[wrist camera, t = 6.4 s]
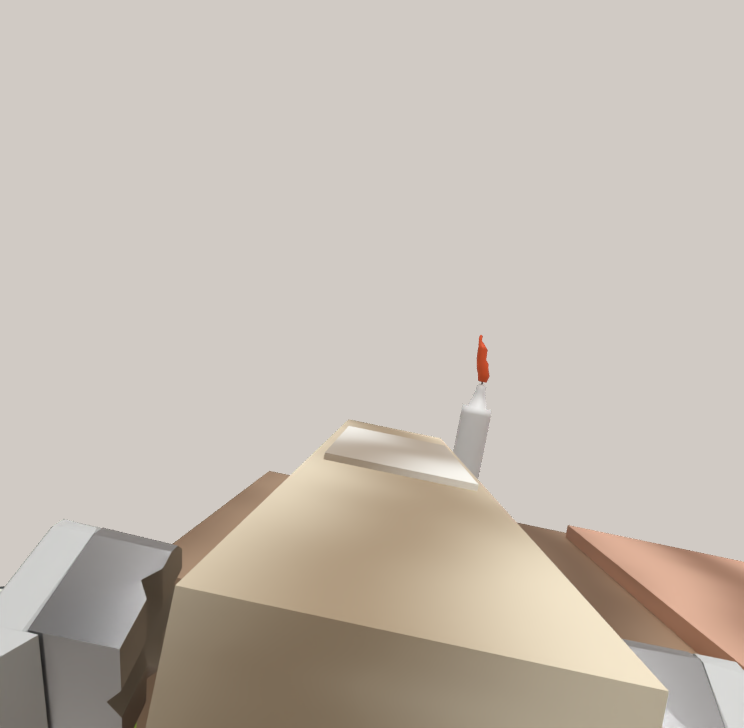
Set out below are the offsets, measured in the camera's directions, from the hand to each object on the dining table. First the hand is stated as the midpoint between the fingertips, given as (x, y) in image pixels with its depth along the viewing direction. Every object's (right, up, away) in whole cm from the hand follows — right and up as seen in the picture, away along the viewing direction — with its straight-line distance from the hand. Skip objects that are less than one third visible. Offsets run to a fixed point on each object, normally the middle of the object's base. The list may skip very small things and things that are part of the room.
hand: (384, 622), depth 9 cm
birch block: (0, -2, +9) cm, 9 cm away
